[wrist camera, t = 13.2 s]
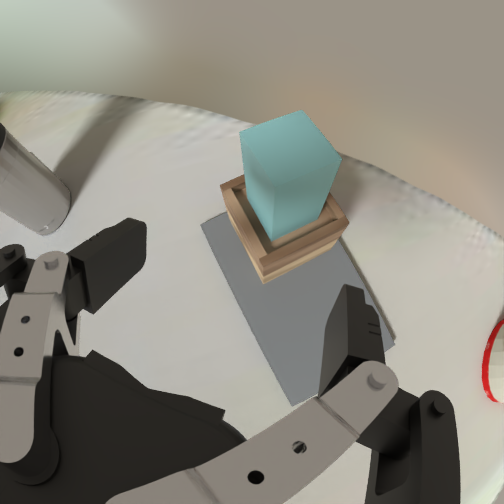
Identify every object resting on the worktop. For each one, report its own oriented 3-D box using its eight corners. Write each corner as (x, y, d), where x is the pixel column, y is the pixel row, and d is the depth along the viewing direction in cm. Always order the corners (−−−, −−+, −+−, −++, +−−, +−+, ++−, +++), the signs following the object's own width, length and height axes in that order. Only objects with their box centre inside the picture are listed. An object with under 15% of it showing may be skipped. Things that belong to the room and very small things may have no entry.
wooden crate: (229, 218, 35) (219, 185, 27) (293, 189, 36) (300, 150, 28) (263, 284, 32) (263, 266, 24) (330, 249, 33) (349, 222, 25)
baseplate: (201, 227, 36) (200, 224, 35) (298, 182, 37) (299, 178, 36) (291, 404, 29) (291, 406, 28) (391, 344, 30) (395, 344, 29)
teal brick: (247, 198, 28) (239, 131, 18) (291, 178, 28) (302, 109, 19) (271, 241, 26) (275, 187, 17) (317, 219, 27) (342, 159, 17)
